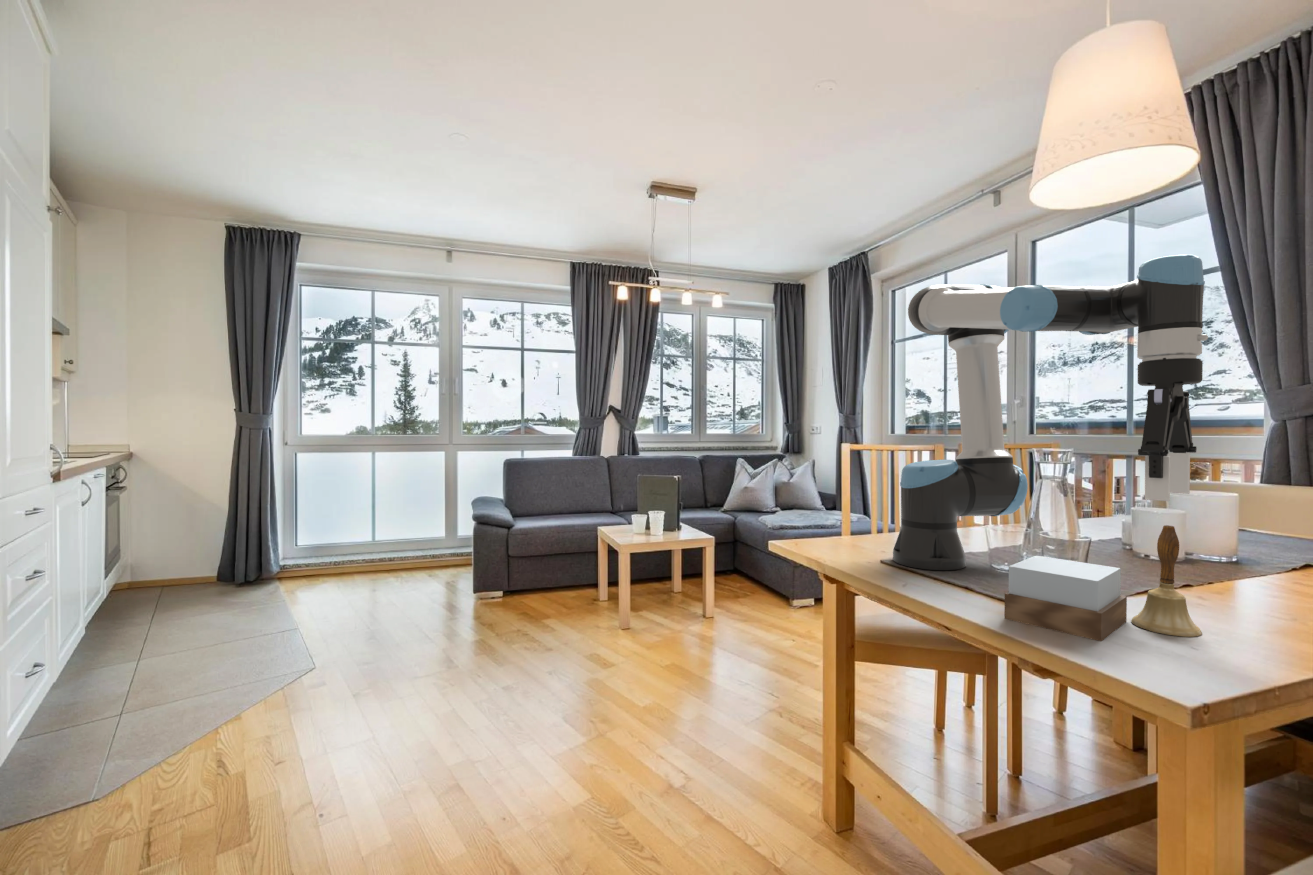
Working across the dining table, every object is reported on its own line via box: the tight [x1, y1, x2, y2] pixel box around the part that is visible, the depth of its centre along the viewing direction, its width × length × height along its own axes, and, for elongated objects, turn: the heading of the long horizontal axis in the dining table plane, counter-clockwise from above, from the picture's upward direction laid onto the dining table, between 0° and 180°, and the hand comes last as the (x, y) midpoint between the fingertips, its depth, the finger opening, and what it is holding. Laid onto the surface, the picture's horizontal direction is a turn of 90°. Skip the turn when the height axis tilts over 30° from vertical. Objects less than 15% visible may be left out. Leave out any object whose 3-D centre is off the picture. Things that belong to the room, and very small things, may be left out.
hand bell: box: [1130, 524, 1203, 638], centre depth 90 cm, size 8×8×16 cm
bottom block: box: [1004, 591, 1128, 642], centre depth 94 cm, size 13×13×4 cm
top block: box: [1008, 555, 1122, 611], centre depth 94 cm, size 12×12×4 cm
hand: (1168, 496), depth 90 cm, fingers open, 13 cm apart
